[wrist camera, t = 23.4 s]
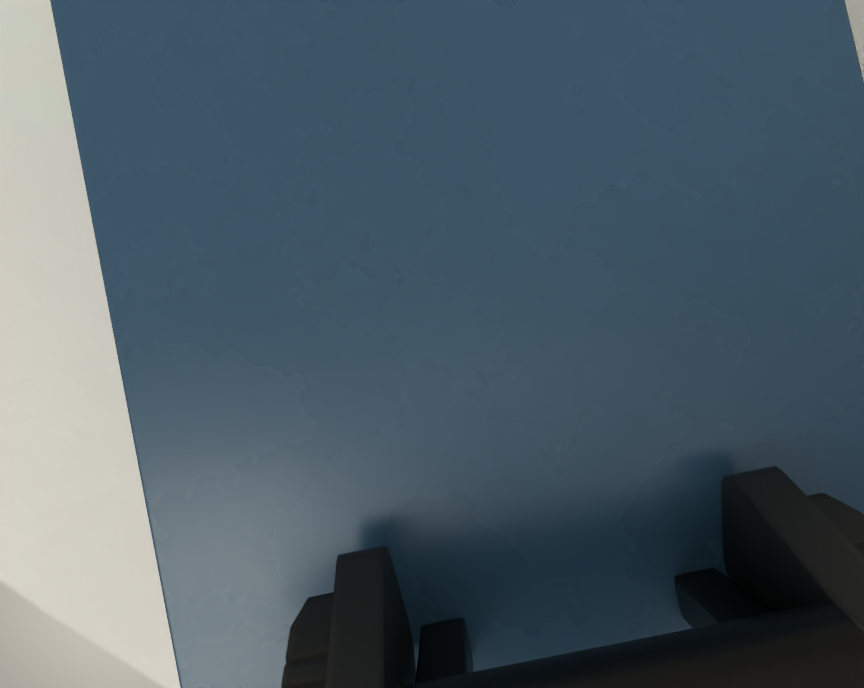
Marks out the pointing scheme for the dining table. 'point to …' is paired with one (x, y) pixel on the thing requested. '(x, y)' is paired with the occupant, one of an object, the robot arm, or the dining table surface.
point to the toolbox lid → (481, 318)
